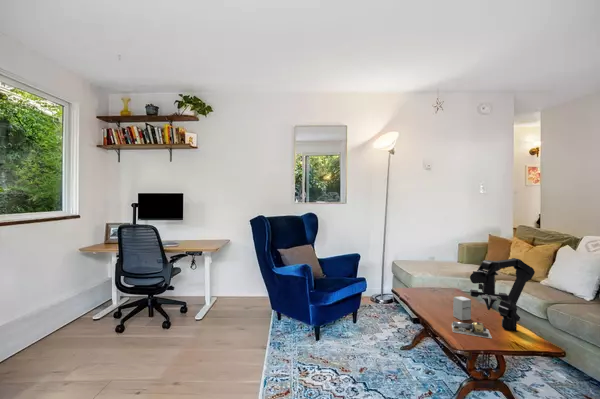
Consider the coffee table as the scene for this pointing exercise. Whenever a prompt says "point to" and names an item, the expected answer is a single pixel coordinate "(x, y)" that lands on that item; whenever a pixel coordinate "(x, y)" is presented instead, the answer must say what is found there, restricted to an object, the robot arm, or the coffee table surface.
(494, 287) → the robot arm
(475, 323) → the valve
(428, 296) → the coffee table surface
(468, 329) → the pipe run
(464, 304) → the supplement box
